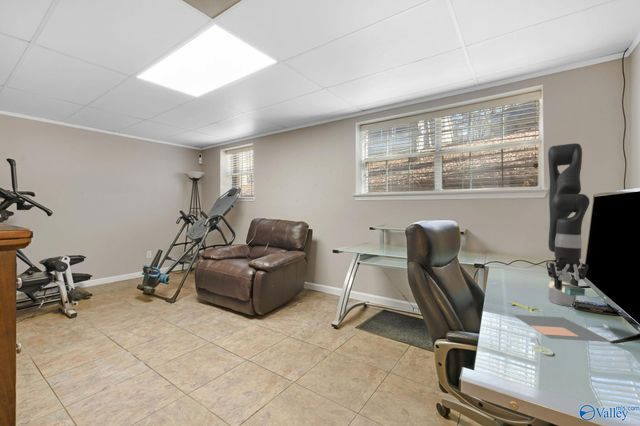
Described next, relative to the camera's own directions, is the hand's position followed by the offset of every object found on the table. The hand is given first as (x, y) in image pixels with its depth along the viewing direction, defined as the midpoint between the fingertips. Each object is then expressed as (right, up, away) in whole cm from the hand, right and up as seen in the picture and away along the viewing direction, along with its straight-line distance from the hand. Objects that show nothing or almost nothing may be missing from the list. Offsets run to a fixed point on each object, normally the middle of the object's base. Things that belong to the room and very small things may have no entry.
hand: (565, 289), depth 104 cm
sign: (-23, -14, -16) cm, 32 cm away
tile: (0, -1, 0) cm, 1 cm away
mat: (-6, -14, -3) cm, 15 cm away
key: (-3, -14, +15) cm, 21 cm away
